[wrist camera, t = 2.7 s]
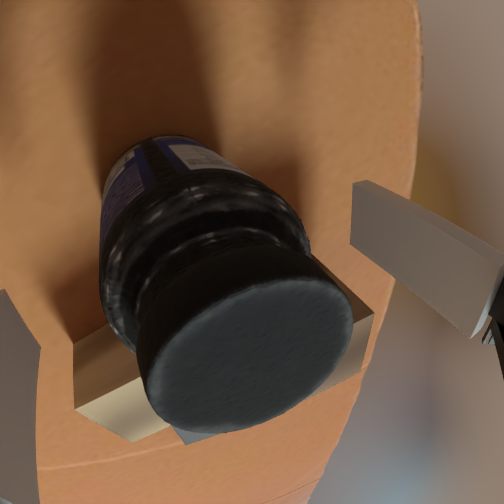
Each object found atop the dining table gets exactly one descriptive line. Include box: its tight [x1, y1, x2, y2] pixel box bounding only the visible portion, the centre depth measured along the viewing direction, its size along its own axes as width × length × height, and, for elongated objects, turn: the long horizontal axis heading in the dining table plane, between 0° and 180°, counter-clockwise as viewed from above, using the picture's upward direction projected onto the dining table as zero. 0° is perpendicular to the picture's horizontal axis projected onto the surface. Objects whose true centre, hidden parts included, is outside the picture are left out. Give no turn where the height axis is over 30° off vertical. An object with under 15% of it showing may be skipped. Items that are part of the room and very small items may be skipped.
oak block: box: [73, 323, 171, 442], centre depth 16 cm, size 5×5×5 cm
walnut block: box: [301, 254, 375, 402], centre depth 18 cm, size 5×5×7 cm
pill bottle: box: [99, 135, 354, 434], centre depth 10 cm, size 6×6×11 cm
